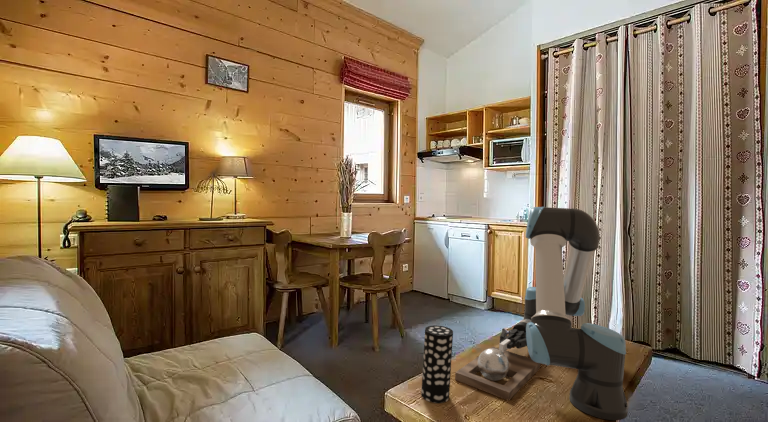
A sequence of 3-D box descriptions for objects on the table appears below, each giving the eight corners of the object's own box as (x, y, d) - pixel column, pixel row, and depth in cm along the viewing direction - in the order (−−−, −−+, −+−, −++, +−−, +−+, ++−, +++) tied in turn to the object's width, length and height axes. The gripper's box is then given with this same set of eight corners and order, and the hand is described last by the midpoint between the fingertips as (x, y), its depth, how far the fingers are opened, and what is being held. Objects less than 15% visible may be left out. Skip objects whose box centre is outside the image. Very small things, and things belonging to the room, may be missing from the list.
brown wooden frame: (492, 352, 148) (492, 346, 148) (540, 368, 137) (540, 361, 137) (455, 379, 125) (455, 372, 125) (508, 400, 114) (509, 392, 114)
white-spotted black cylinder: (430, 385, 120) (434, 323, 119) (454, 395, 115) (458, 330, 114) (415, 395, 114) (419, 330, 113) (439, 406, 109) (444, 337, 108)
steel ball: (516, 357, 122) (511, 387, 122) (504, 345, 132) (499, 373, 132) (486, 353, 121) (481, 384, 121) (476, 342, 131) (471, 370, 131)
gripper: (541, 345, 146) (519, 364, 128) (508, 336, 155) (482, 353, 136) (542, 326, 146) (520, 342, 128) (509, 317, 154) (484, 332, 136)
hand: (501, 348), depth 132 cm, fingers closed
